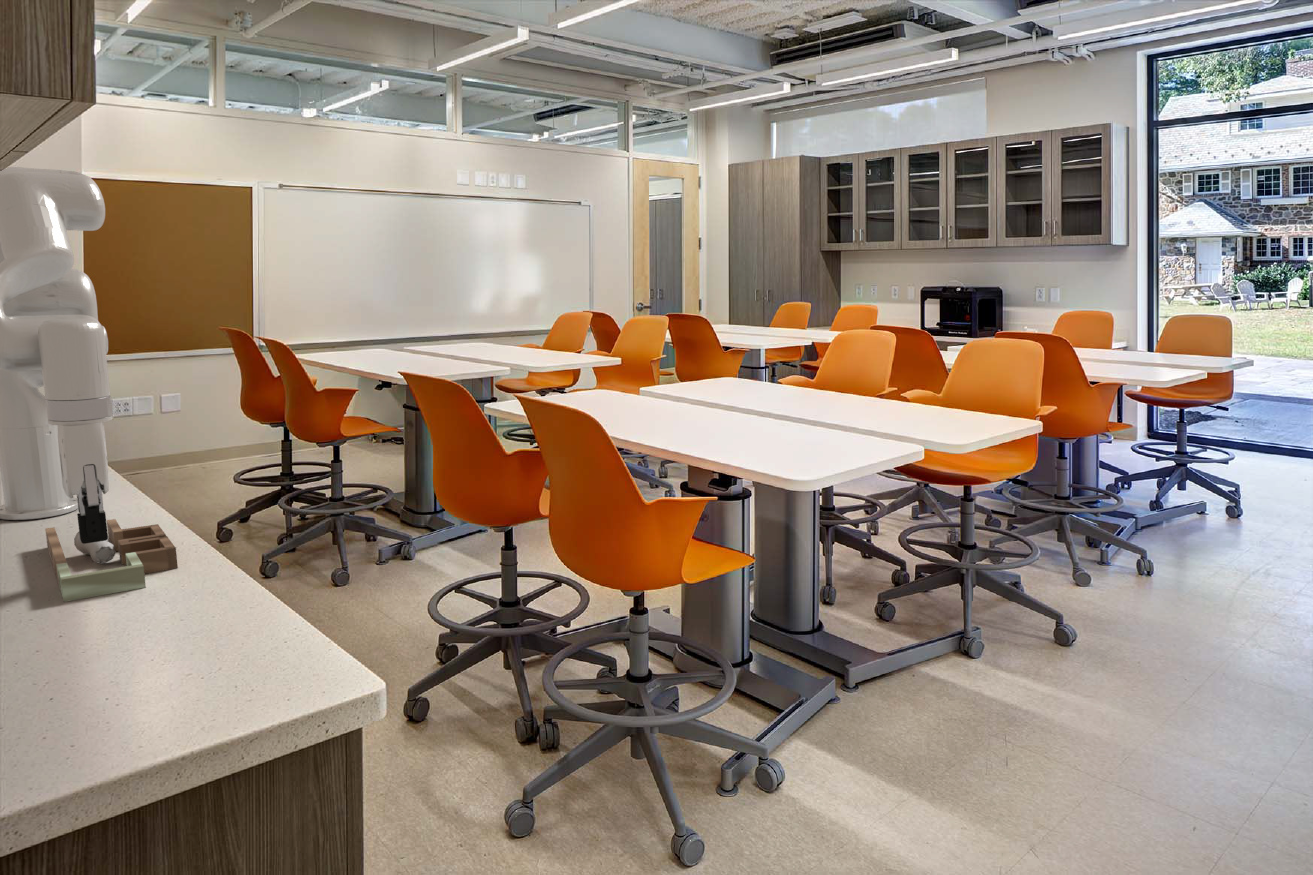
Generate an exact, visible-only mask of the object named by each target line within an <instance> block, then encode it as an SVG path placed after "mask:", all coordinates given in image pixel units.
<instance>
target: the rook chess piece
mask: <svg viewBox="0 0 1313 875" xmlns="http://www.w3.org/2000/svg"><path fill="white" fill-rule="evenodd" d="M73 544H74V547H75V548H76V550H77V551H79V552H80V553H82V554H83V555H87V556H90V558H91V559H92V561H94V562H95V563H98V564H106V563H108V562H111V561H112V560H113V559H114V557H115V556H116V552H117V551H116V549H115V547H114V545H113V544H111V542H110V540H109V537H108V539H107V540H106V541H100V542H93V543H86V544H83V543H82V542H81V540H80V534H79V531H77V532H76V534H75V535H74V539H73Z"/></svg>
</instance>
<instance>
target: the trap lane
mask: <svg viewBox="0 0 1313 875" xmlns="http://www.w3.org/2000/svg"><path fill="white" fill-rule="evenodd" d="M106 524H107V533H108V538H109V543H111V544H113V545H114V547H115V549H116V552H119V560H120V563H121V564H122V566H121V567H115V568H110V569H103V570H96V571H90V572H84V573H83V572H82V573H78V574H72V573H71V570H70V567H69V564H68V561H67V560H66V559H67V558H66V556H65V554H64V551H63V547H62V545H61V541H60V540H59V537H58V536H59V535H58V533H57V530H56V528H55V527H47V528H45V529H44V530H45V537H46V546H47V550H48V553H49V557H50V560H51V563H52V566H53V570H54V573H55V577H56V580H57V584H58V587H59V590H60V594H61V596H62V600H63V602H70V601H71V602H72V601H75V600H82V599H87V598H92V597H100V596H104V595H110V594H115V593H121V592H126V591H127V592H128V591H133V590H138V589H144V588H146V578H145V574H149V573H150V574H151V573H157V572H162V571H167V570H172V569H175V570H176V569H179V567H178V557H177V547H176V546H175V545H174V543H173V542H172V540H171V539H170V538H169V537H168V536H167V534H166V533H165V531H163V529H162V527H161V526H160V525H159V523H158V524H151V525H143V526H137V527H128V528H121V526H120V525H119V522H117V520H116V519H115V518H113V519H106ZM124 565H126V566H124Z"/></svg>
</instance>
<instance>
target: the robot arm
mask: <svg viewBox="0 0 1313 875" xmlns="http://www.w3.org/2000/svg"><path fill="white" fill-rule="evenodd" d="M105 219H106V204H105V199H104V196H103V194H102V192H101V190H100V188H99V186H98V184H97V183H96V181H94V179H92V178H91V177H90V176H88V175H86V174H84V173H81V172H78V171H72V170H63V169H61V170H60V169H52V168H51V169H50V168H49V169H47V168H35V167H34V168H31V167H20V166H9V167H8V168H7V169H4V170H2V171H0V478H1V486H2V493H3V494H2V495H3V501H4V502H3V503H4V504H1V505H0V519H1V520H7V521H12V520H13V521H23V520H36V519H38V520H39V519H44V518H45V519H46V518H50V517H56V516H61V515H64V514H68V513H72V512H73V511H76V510H78V513H77V514H76V515H77V523H78V532H79V534H80V540H81V542H82V543H83V544H86V543H93V542H100V541H106V540H107V539H108V538H109V537H108V528H107V517H106V511H105V510H104V499H103V495H106V494H107V493H108V492H109V490H110V488H109V487H110V483H109V481H110V480H109V467H108V466H109V465H108V463H109V462H108V451H107V442H106V441H107V440H106V433H105V422H109V421H112V420H113V419H114V417H113V408H112V407H113V404H112V397H111V388H110V378H109V377H110V376H109V370H108V360H107V359H108V358H107V355H108V352H109V338H108V333H107V329H106V328H105V326H104V325H102V323H100V321H99V316H98V302H97V295H96V291H95V287H94V283H93V282H92V280H91V279H90V276H89V275H88V274H86V273H85V272H83V271H82V270H79V269H77V268H73V267H74V263H75V257H74V253H73V249H72V247H71V246H72V245H71V241H70V240H69V235H68V232H67V231H77V232H79V231H81V232H82V231H83V232H87V231H89V232H93V231H97V230H99V229H100V228H102V226H103V225H104V223H105ZM42 387H43V390H44V394H43V393H42V392H40V390H39V389H40V388H42ZM74 496H76V497H74Z"/></svg>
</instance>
